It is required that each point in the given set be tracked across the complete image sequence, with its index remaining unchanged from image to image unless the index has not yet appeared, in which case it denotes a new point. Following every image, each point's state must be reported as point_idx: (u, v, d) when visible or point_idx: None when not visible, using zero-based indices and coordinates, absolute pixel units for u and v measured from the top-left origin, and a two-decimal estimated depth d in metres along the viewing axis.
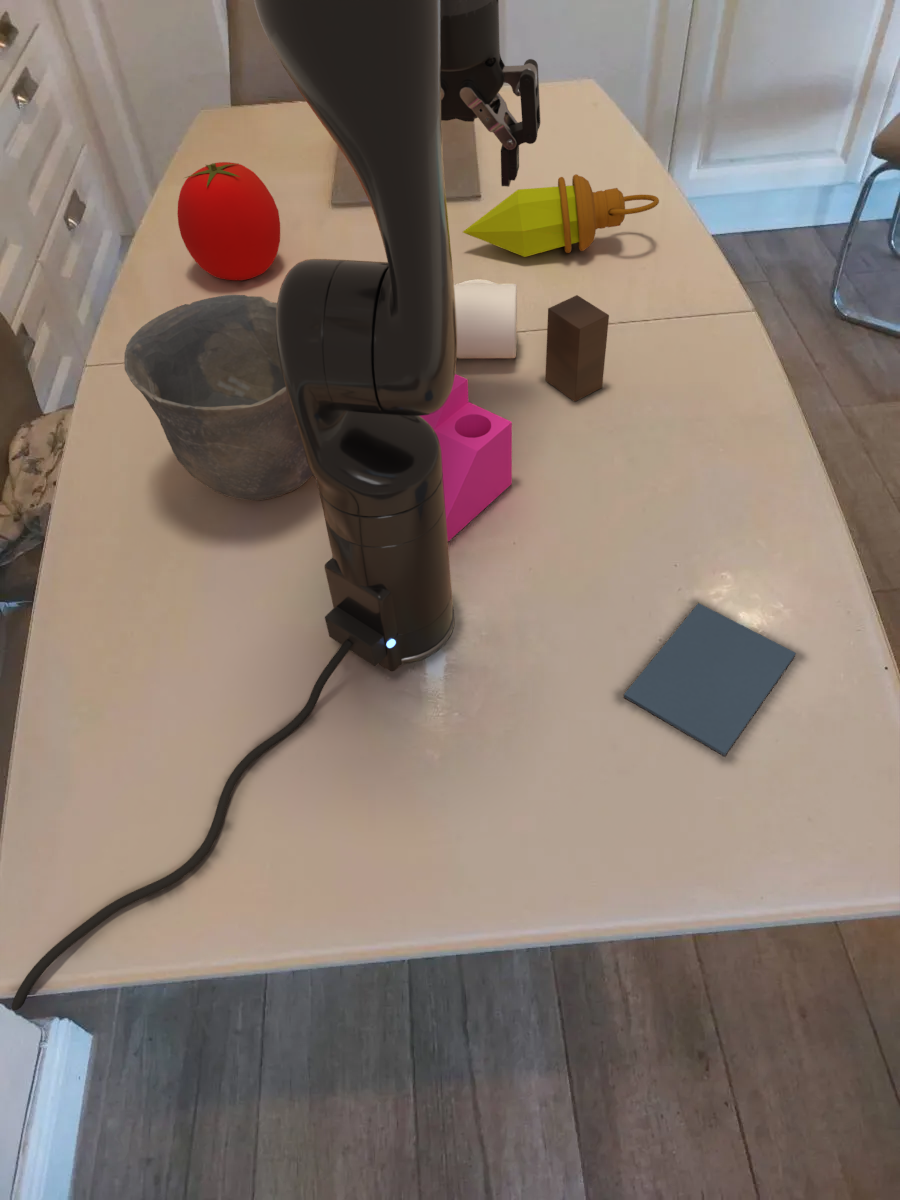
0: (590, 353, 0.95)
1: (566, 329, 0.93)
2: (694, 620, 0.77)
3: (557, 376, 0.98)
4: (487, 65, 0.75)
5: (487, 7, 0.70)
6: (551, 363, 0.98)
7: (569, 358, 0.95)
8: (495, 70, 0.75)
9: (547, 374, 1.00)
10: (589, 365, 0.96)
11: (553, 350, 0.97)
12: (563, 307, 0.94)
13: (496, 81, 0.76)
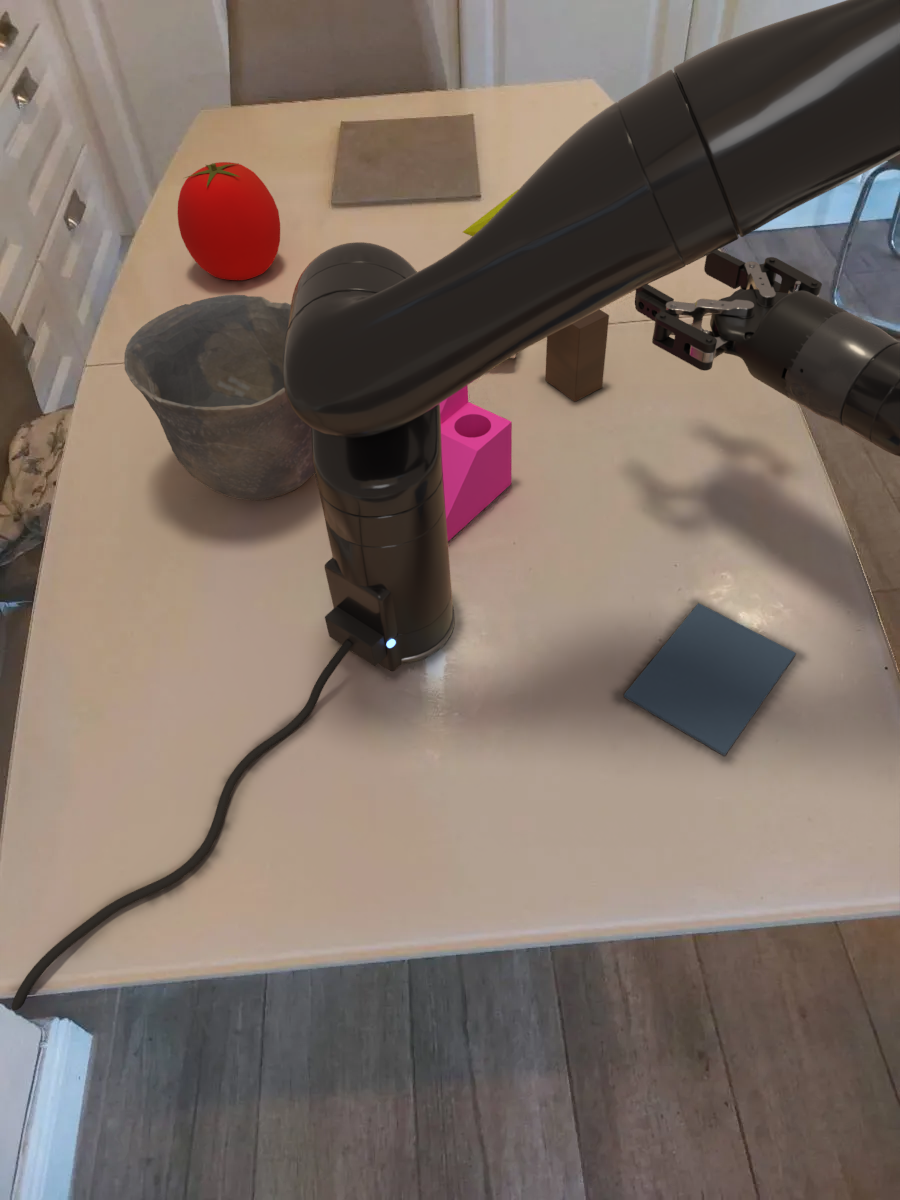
0: (590, 353, 0.95)
1: (566, 329, 0.93)
2: (694, 620, 0.77)
3: (557, 376, 0.98)
4: (748, 332, 0.72)
5: (796, 351, 0.69)
6: (551, 363, 0.98)
7: (569, 358, 0.95)
8: (738, 334, 0.72)
9: (547, 374, 1.00)
10: (589, 365, 0.96)
11: (553, 350, 0.97)
12: None
13: (730, 329, 0.73)
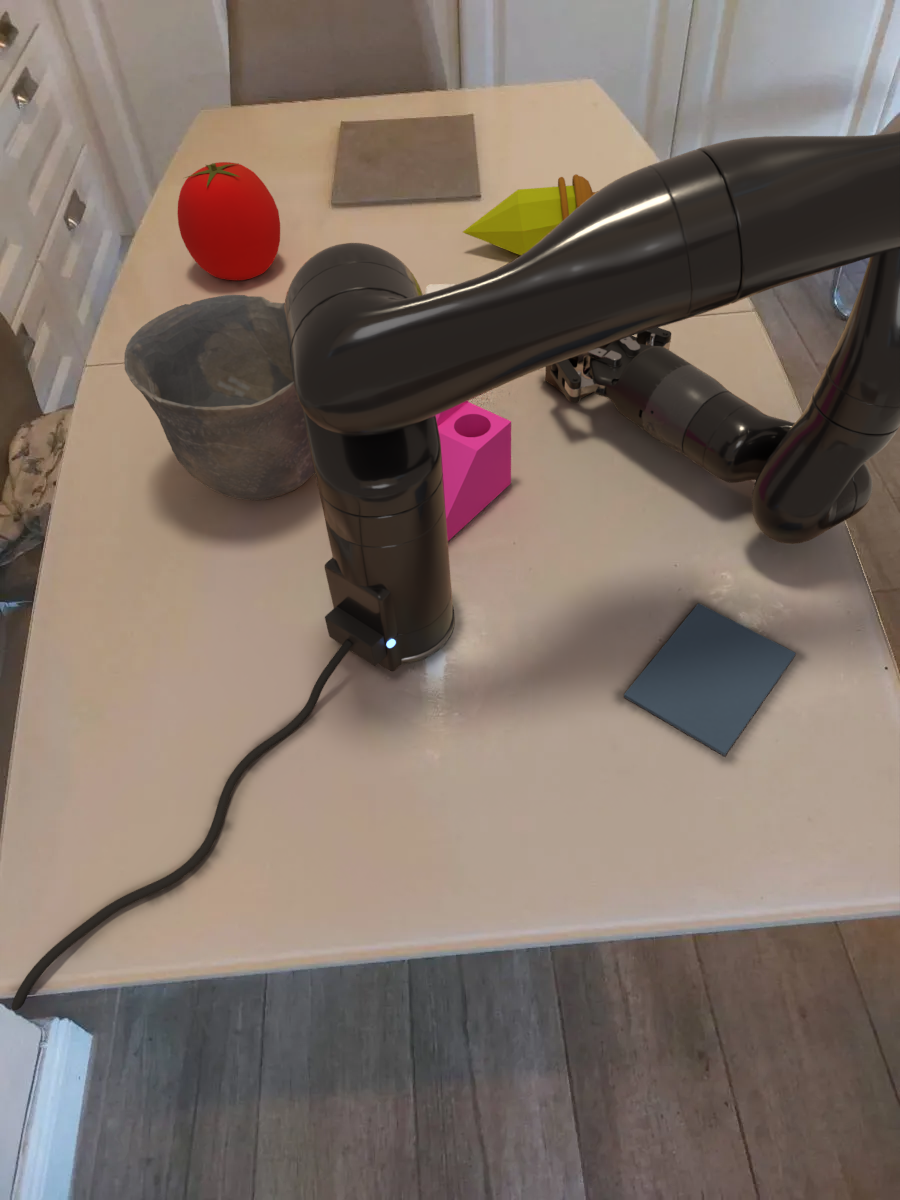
0: None
1: None
2: (694, 620, 0.77)
3: None
4: (615, 379, 0.89)
5: (648, 396, 0.86)
6: None
7: None
8: (607, 380, 0.89)
9: (547, 374, 1.00)
10: (589, 365, 0.96)
11: None
12: None
13: (599, 374, 0.89)
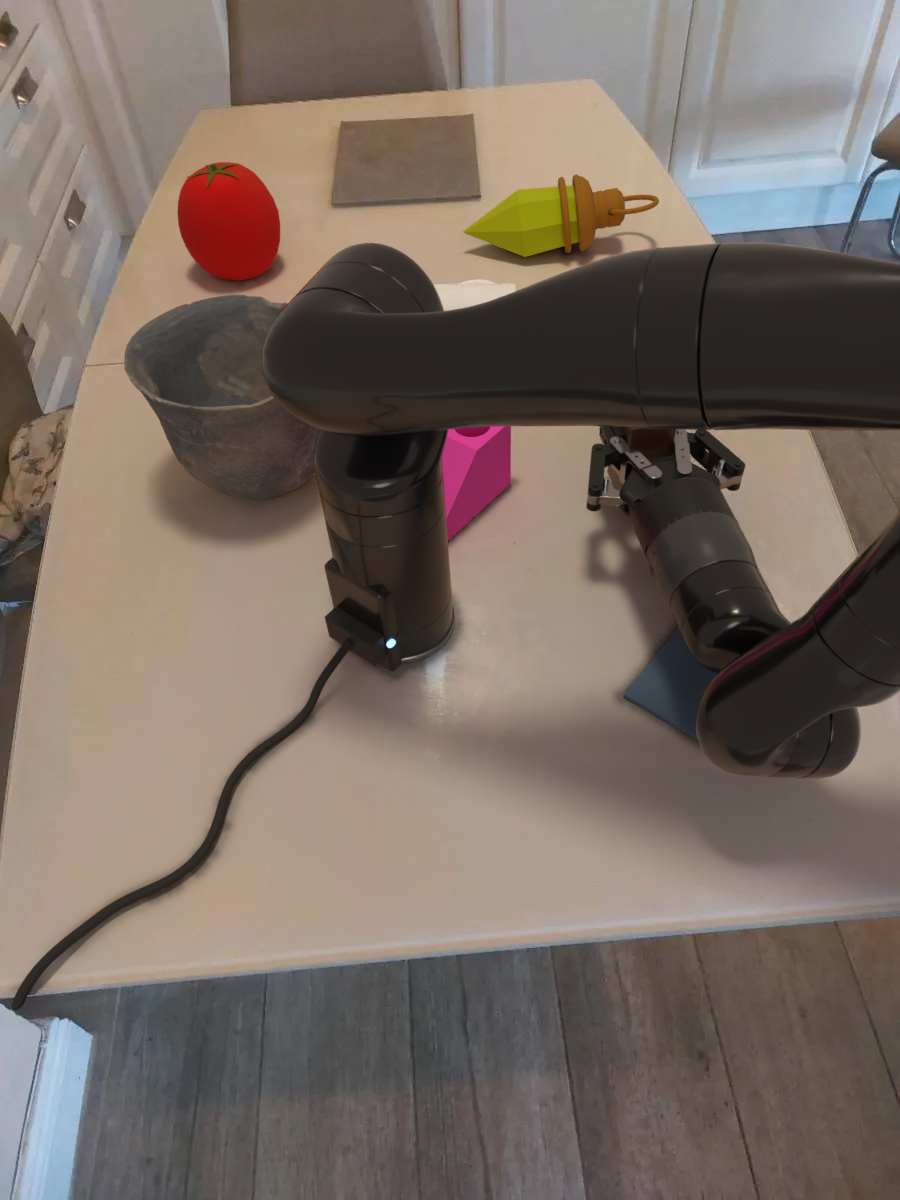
0: None
1: None
2: None
3: (614, 472, 0.84)
4: (640, 500, 0.74)
5: (656, 534, 0.70)
6: None
7: None
8: (631, 498, 0.74)
9: (608, 466, 0.86)
10: None
11: None
12: None
13: (627, 488, 0.75)
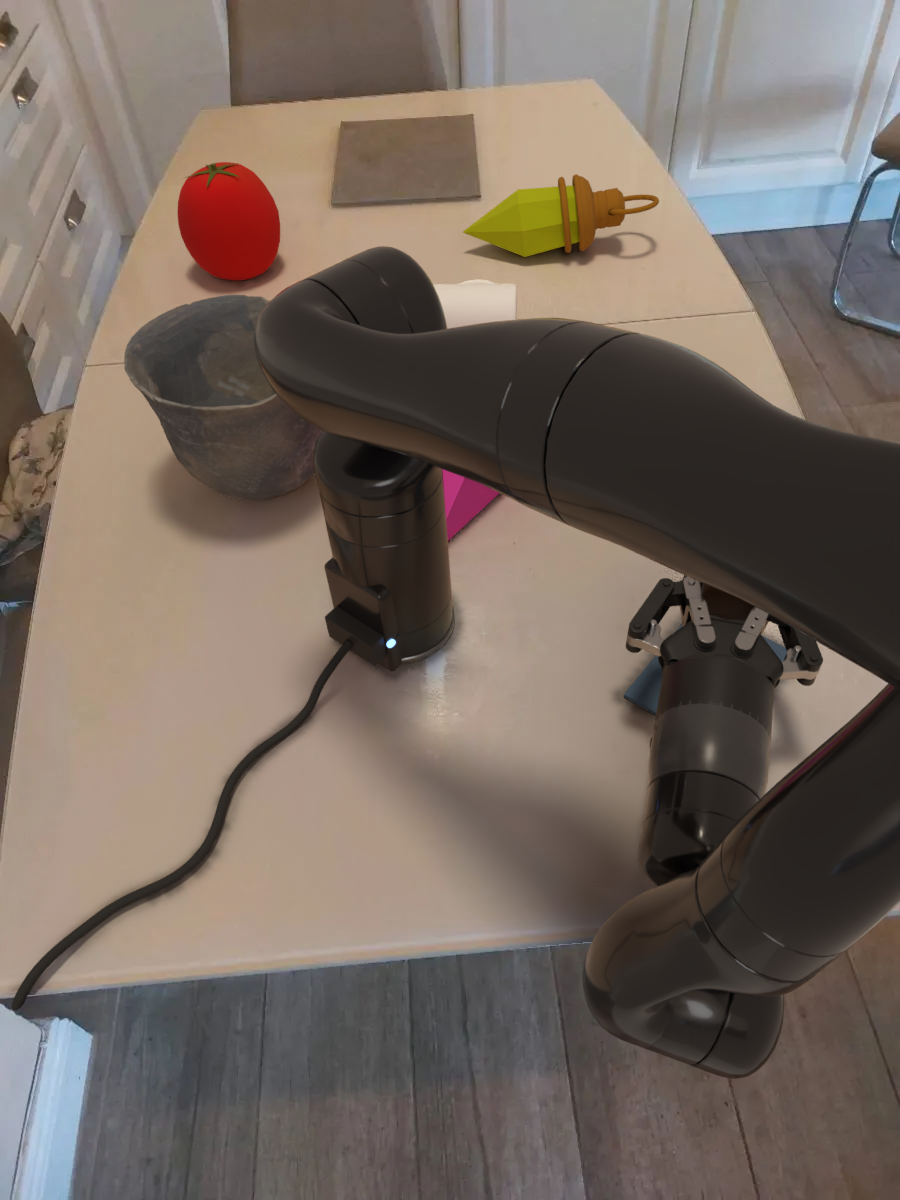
0: (721, 613, 0.68)
1: None
2: None
3: None
4: (677, 660, 0.63)
5: (665, 708, 0.60)
6: None
7: None
8: (668, 654, 0.64)
9: None
10: None
11: None
12: None
13: (669, 642, 0.64)
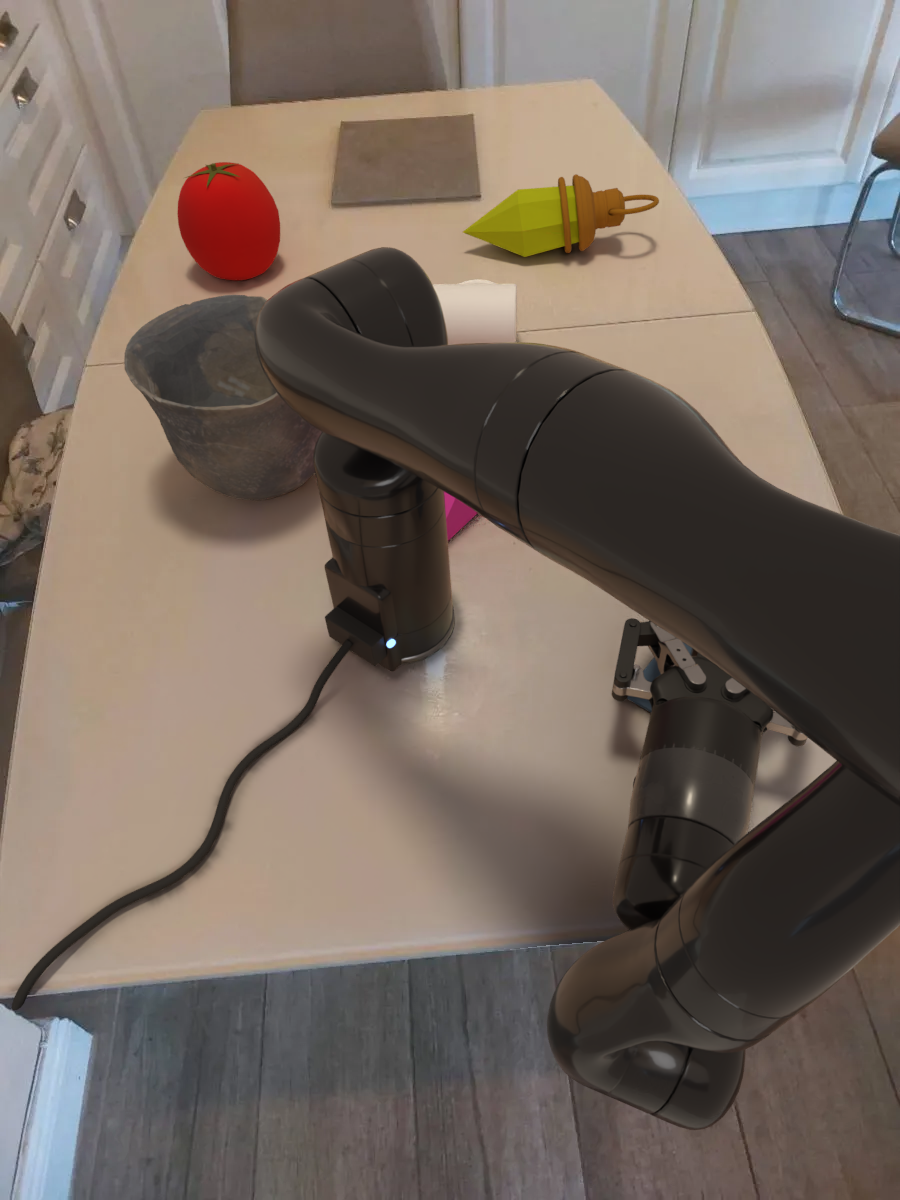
0: None
1: None
2: None
3: None
4: (666, 700, 0.63)
5: (650, 750, 0.60)
6: None
7: None
8: (658, 694, 0.64)
9: None
10: None
11: None
12: None
13: (659, 683, 0.64)
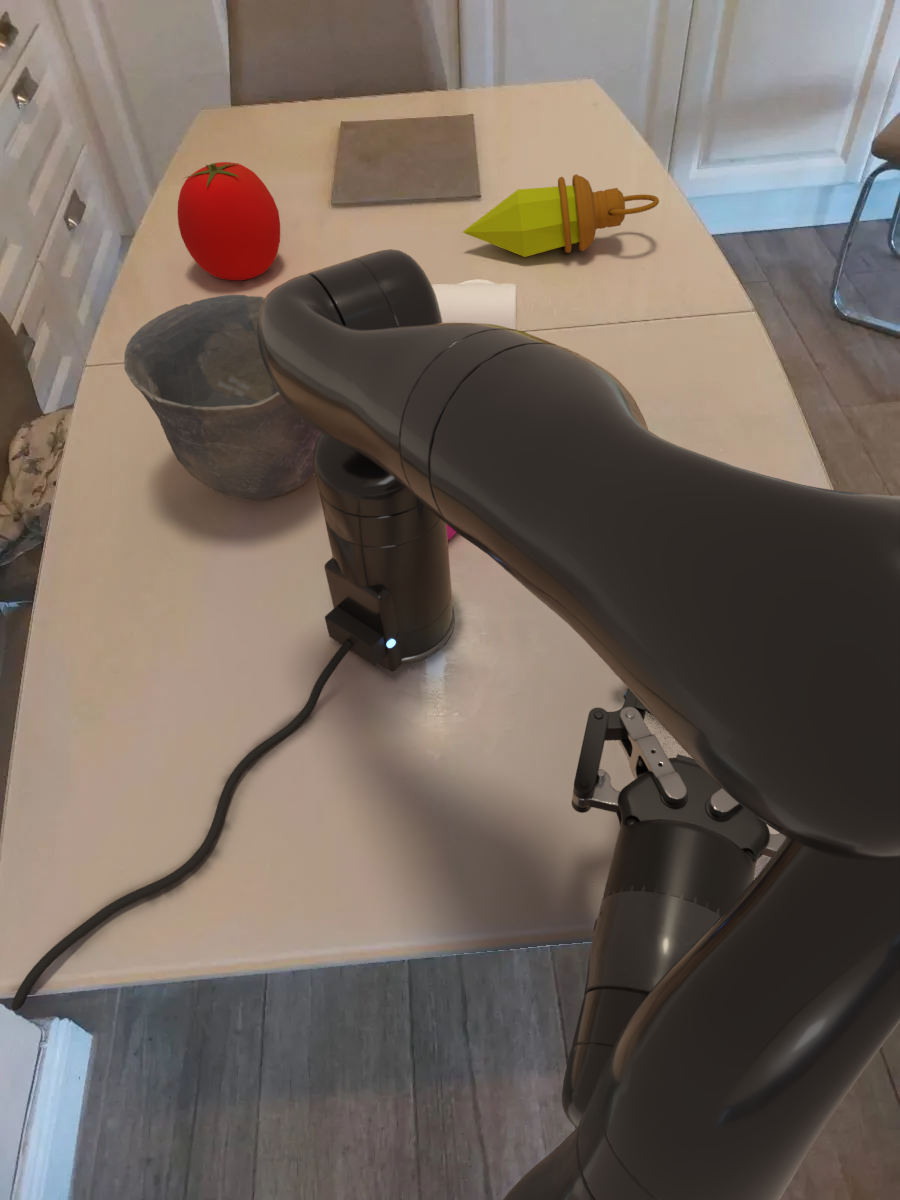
0: None
1: None
2: None
3: None
4: (637, 818, 0.51)
5: (614, 889, 0.47)
6: None
7: None
8: (627, 809, 0.51)
9: None
10: None
11: None
12: None
13: (629, 795, 0.52)
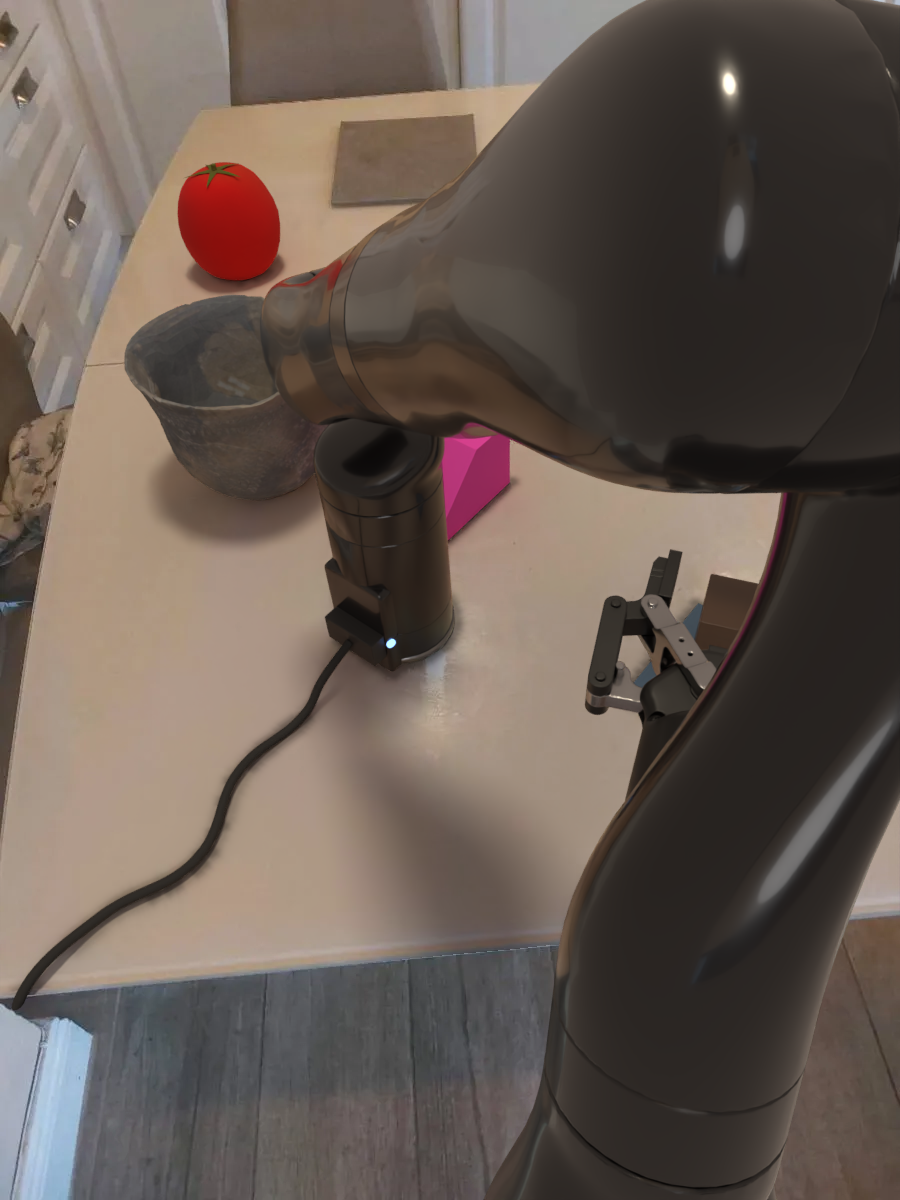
0: None
1: None
2: (694, 620, 0.77)
3: None
4: (663, 714, 0.43)
5: None
6: None
7: None
8: (651, 705, 0.43)
9: None
10: None
11: None
12: (727, 585, 0.68)
13: (653, 689, 0.44)
